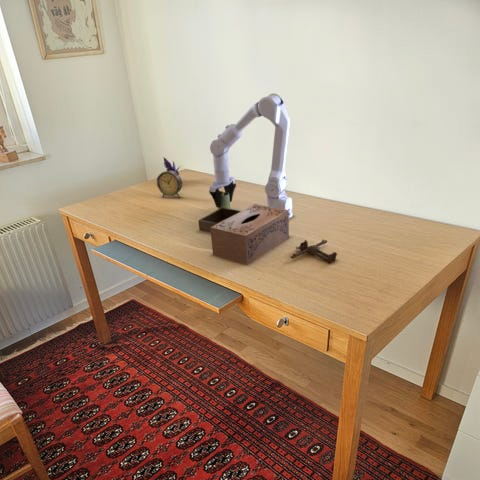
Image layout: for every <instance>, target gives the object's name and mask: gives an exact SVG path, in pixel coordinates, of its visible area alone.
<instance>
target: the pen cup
mask: <svg viewBox="0 0 480 480" xmlns="http://www.w3.org/2000/svg"><path fill="white" fill-rule="evenodd" d="M221 208H227V209H231V202H230V195H229V193H228V192H225V191H223V194H222V199H221ZM218 209H220V208H218V207H217V210H218Z"/></svg>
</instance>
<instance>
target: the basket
mask: <svg viewBox="0 0 480 480" xmlns="http://www.w3.org/2000/svg"><path fill="white" fill-rule="evenodd" d="M241 211H242V210H237V209H232V208H230V209H227V208H220V209H218V208H217V210H215V211H213V212H211V213H209V214H207V215H205V216H203V217H202V218H200V219H198V220H197V221H198V229H199V231H201V232H204V233H205V232H206V233H209V234H211V229H210V227H212V226H214V225H216V224H218V223H220V222H222V221H223V220H225V219H227V218H229V217H231V216H233V215H235V214H237V213H239V212H241Z"/></svg>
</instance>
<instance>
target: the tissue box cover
mask: <svg viewBox="0 0 480 480" xmlns="http://www.w3.org/2000/svg"><path fill="white" fill-rule="evenodd" d="M240 211H241V212H239V213H237V214H235V215H233V216H231V217H229V218H227V219H225V220H223V221H222V222H220V223H218V224H216V225H214V226H212V227H210V229H211V233H210V239H211V250H212V256H214V257H218V258H222V259H225V260H229V261H232V262H235V263H238V264H239V263H240V264H243V265H245V266H246V265H249V264H251V263H252V262H254V261H255V260H257V259H258V258H260V257H261V256H263V255H265V254H266V253H268V252H269V251H270V250H272V249H274V248H275V247H277V246H278V245H279V244H281V243H282V242H284V241H285V240H287V239H289V237H290V218H289V210H284V209H278V208H273V207H268V206H267V205H262V204H257V203H255V204H253V205H250V206H248V207H247V208H245V209H243V210H240Z"/></svg>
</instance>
